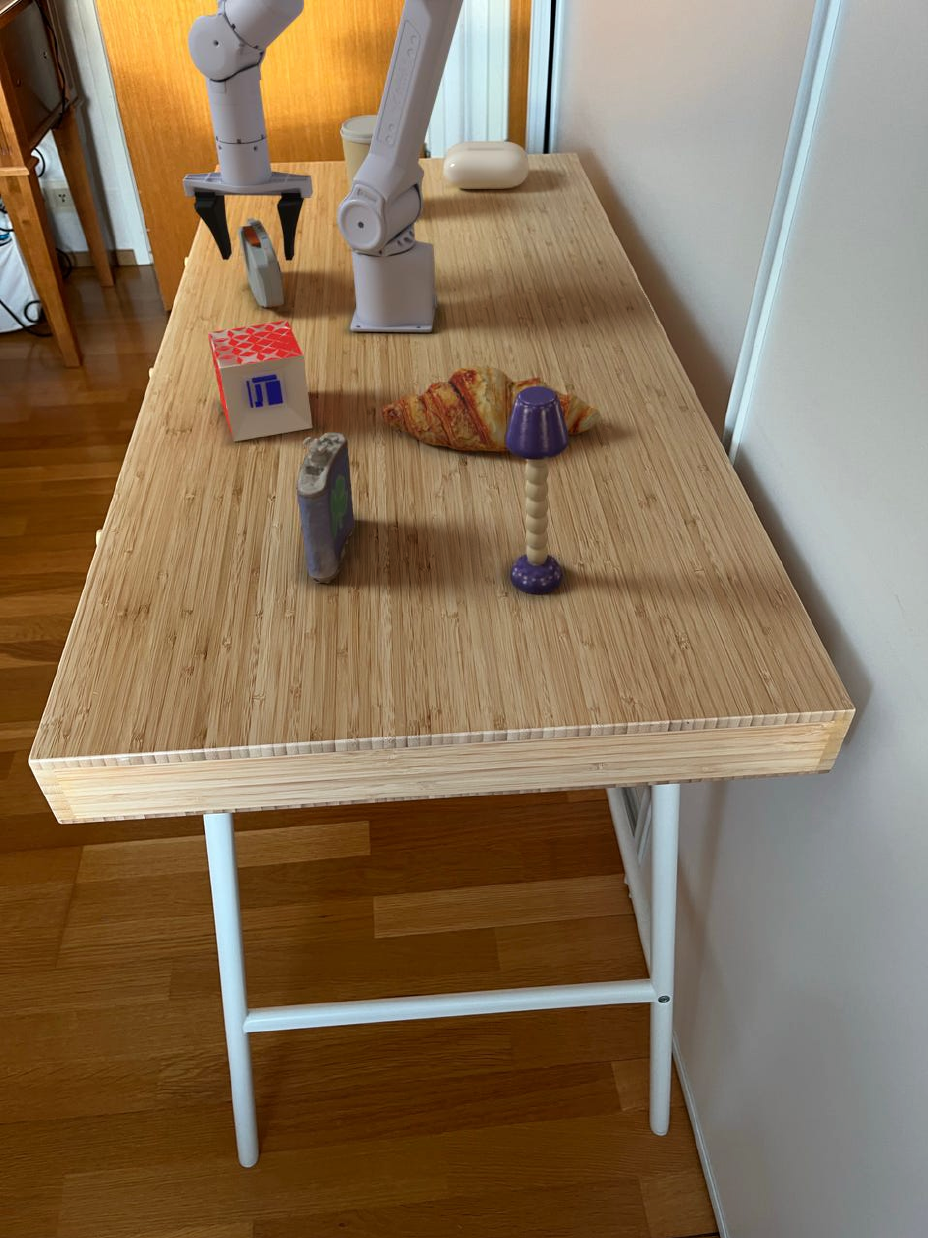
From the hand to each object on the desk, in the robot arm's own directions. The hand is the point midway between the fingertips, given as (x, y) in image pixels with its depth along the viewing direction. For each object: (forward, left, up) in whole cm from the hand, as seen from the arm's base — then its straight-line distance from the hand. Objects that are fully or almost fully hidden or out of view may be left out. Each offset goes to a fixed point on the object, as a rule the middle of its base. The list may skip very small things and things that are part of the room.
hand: (258, 256), depth 119 cm
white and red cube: (-6, +29, -5) cm, 30 cm away
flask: (-16, +51, -5) cm, 54 cm away
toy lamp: (-33, +54, -5) cm, 64 cm away
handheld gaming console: (0, 0, -5) cm, 5 cm away
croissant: (-29, +32, -5) cm, 44 cm away
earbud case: (-26, -42, -5) cm, 50 cm away
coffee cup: (-11, -29, -5) cm, 31 cm away
